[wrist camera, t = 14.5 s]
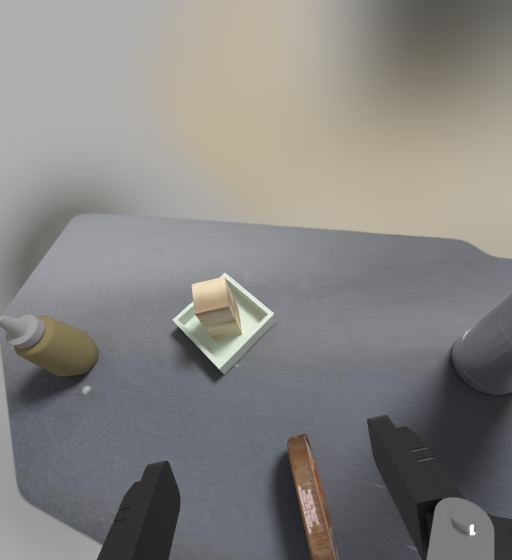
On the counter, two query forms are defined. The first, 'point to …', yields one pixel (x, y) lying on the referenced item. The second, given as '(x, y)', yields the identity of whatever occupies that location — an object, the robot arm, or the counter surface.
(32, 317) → the squeeze bottle
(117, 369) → the counter surface
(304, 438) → the tin
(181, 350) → the counter surface
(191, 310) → the bin
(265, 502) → the counter surface
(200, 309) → the beech block
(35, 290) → the counter surface
